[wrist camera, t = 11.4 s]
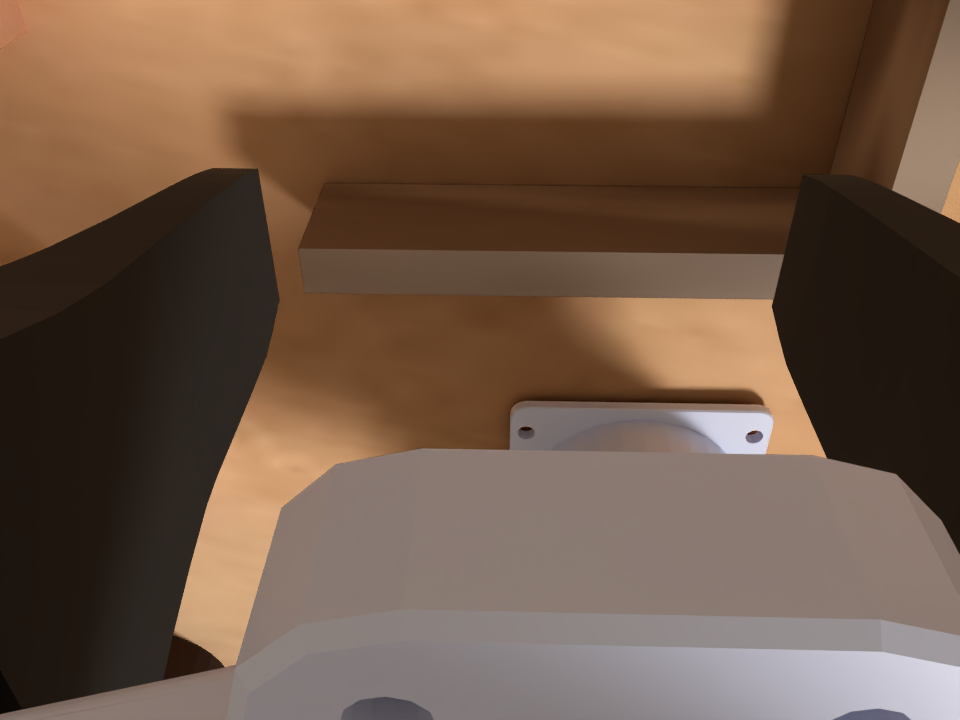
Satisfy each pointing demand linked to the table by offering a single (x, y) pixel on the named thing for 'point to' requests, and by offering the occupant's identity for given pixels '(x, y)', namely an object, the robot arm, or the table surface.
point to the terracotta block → (10, 22)
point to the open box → (647, 201)
